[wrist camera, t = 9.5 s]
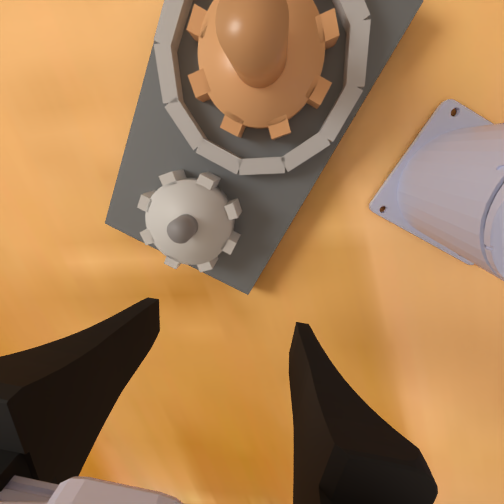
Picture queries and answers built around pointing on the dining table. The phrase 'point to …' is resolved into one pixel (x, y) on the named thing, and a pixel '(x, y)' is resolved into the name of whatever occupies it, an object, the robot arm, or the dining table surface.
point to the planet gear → (261, 60)
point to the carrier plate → (237, 147)
